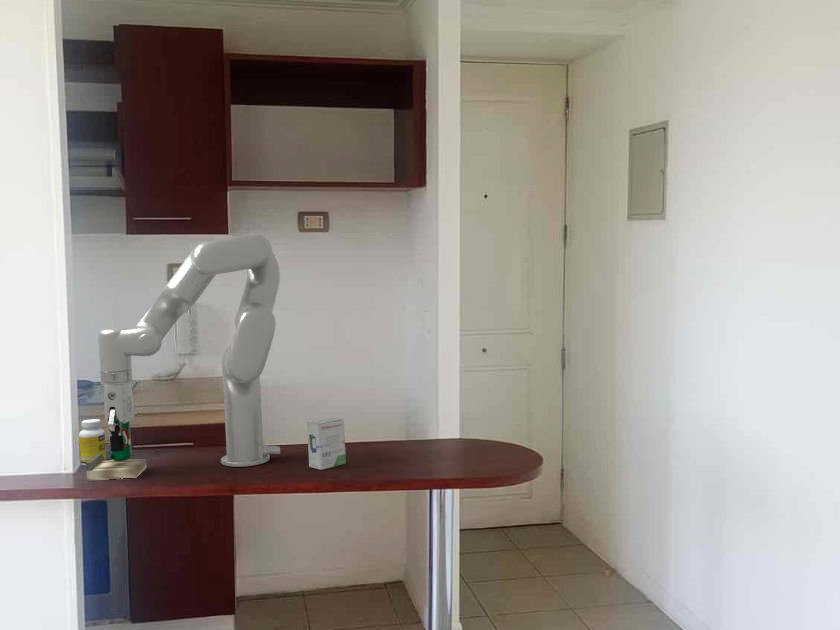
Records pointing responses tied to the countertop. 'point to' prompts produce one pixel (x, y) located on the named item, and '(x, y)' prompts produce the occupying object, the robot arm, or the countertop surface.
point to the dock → (113, 468)
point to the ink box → (326, 443)
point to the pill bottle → (91, 440)
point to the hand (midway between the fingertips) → (120, 447)
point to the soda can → (127, 444)
